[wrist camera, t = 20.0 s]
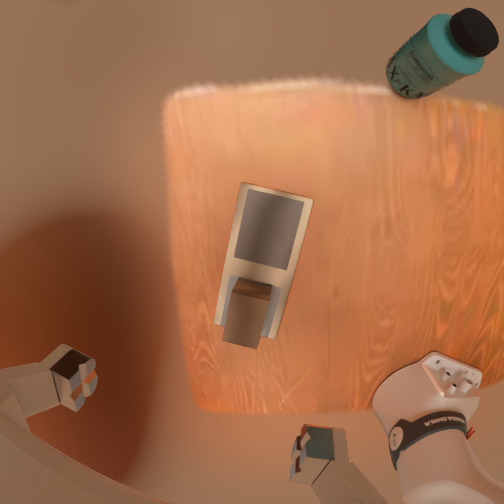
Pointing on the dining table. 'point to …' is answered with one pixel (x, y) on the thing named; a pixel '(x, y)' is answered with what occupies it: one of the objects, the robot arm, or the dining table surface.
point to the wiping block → (246, 312)
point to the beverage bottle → (442, 53)
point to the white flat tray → (264, 247)
